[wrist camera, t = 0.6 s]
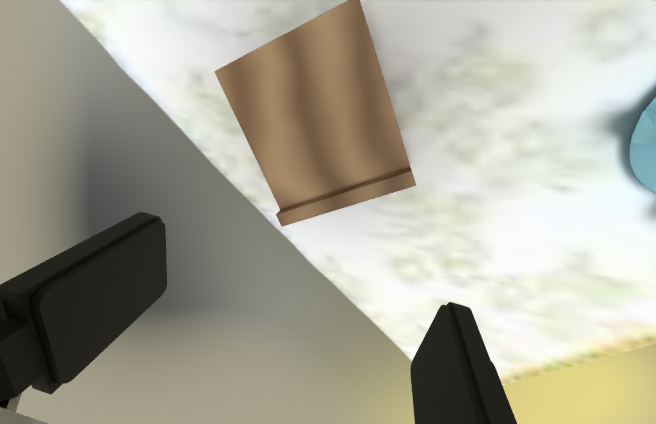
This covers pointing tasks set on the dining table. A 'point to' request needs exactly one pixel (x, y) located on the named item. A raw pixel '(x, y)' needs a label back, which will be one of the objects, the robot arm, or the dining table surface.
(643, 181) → the teapot
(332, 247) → the dining table surface
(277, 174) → the shelf
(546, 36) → the dining table surface
